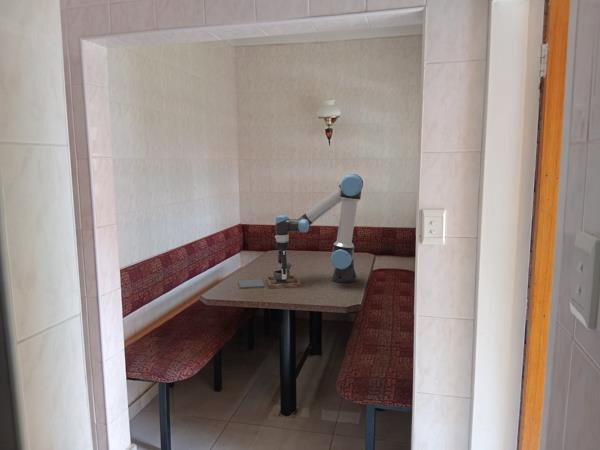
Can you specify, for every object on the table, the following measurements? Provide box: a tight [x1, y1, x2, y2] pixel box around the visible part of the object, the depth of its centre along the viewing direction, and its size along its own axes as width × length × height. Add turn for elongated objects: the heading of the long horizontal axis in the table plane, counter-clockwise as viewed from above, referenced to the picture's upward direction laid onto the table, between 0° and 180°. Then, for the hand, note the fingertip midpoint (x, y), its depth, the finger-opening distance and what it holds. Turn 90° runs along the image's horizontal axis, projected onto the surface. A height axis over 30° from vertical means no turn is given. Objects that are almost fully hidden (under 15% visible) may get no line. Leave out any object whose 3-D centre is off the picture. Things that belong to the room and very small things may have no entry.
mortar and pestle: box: [272, 262, 293, 284], centre depth 276 cm, size 11×9×12 cm
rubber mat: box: [238, 278, 265, 290], centre depth 273 cm, size 14×16×1 cm
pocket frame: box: [264, 274, 303, 290], centre depth 277 cm, size 19×22×2 cm
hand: (282, 276), depth 276 cm, fingers open, 13 cm apart
